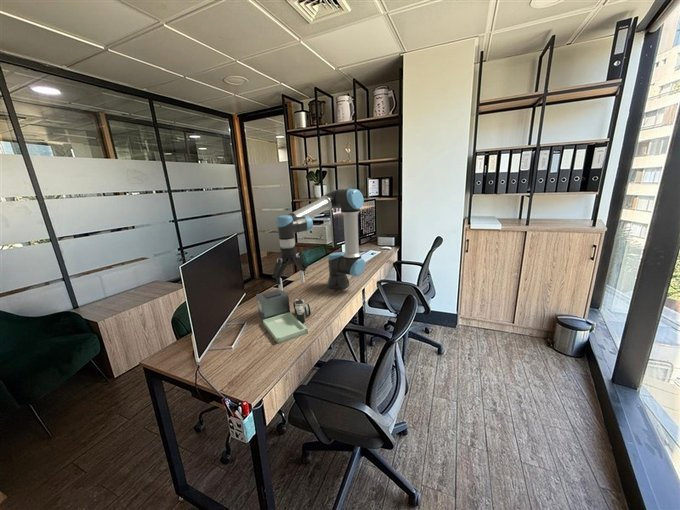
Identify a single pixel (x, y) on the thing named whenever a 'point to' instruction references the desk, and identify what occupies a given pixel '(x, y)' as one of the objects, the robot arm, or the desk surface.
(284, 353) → the desk surface
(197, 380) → the desk surface
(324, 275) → the desk surface
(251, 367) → the desk surface
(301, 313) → the camera
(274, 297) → the block
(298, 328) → the tray
